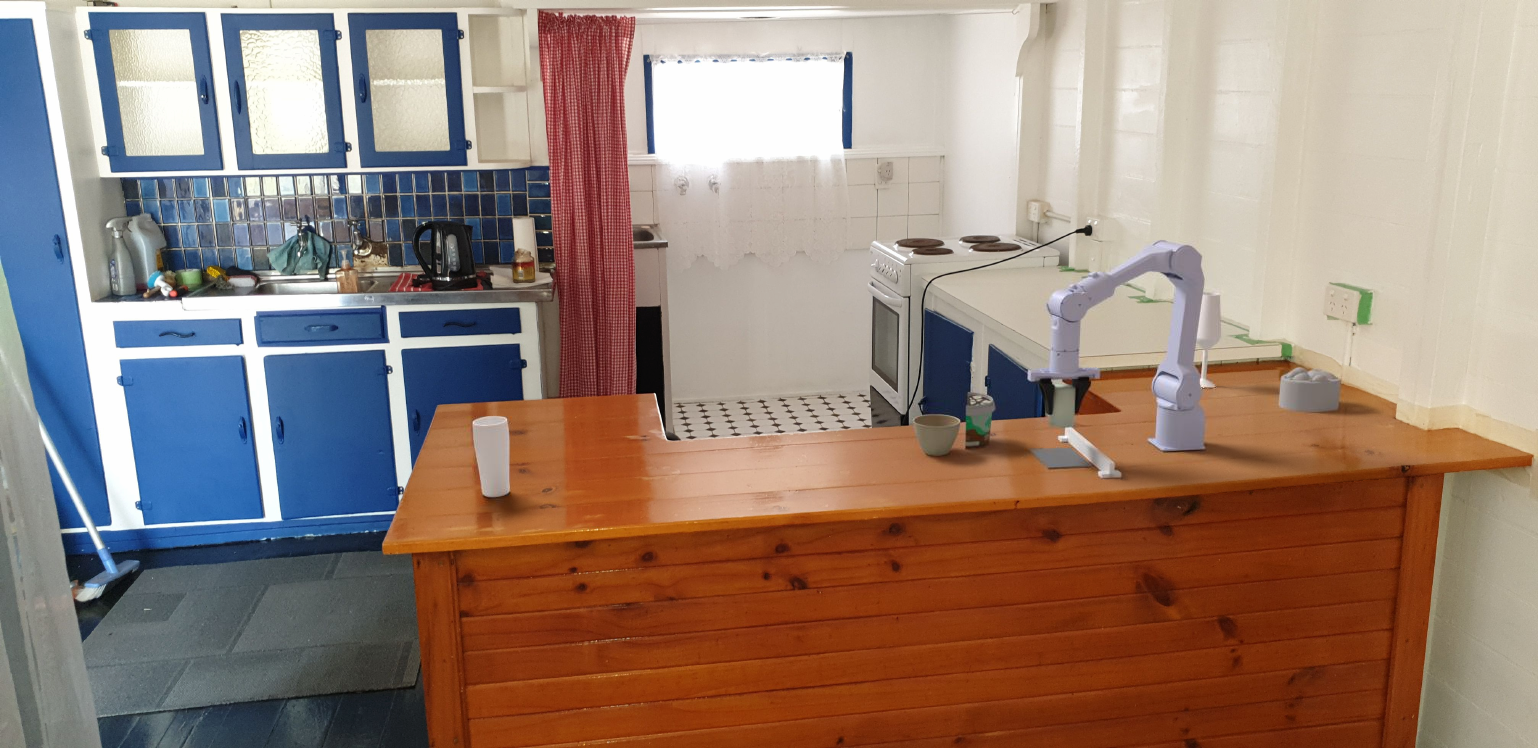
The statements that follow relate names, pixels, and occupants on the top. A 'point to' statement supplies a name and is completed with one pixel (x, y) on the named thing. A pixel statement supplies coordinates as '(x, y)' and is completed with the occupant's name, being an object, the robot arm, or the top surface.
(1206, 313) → the champagne flute
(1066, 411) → the green cylinder
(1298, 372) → the lumpy-topped squat cylinder
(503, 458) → the drinking glass
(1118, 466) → the top surface
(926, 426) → the flower pot
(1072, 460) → the mat
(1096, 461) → the low wall
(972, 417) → the food container
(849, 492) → the top surface
